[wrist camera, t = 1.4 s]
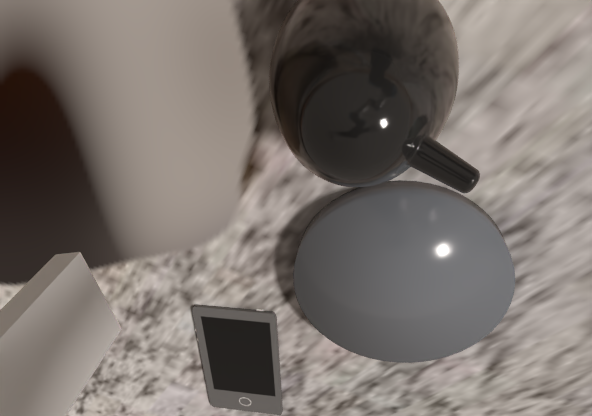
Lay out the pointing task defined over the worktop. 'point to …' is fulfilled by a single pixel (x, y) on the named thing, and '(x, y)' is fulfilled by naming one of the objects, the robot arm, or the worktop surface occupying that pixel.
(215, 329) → the smartphone
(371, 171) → the pump dispenser
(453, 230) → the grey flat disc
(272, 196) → the worktop surface
